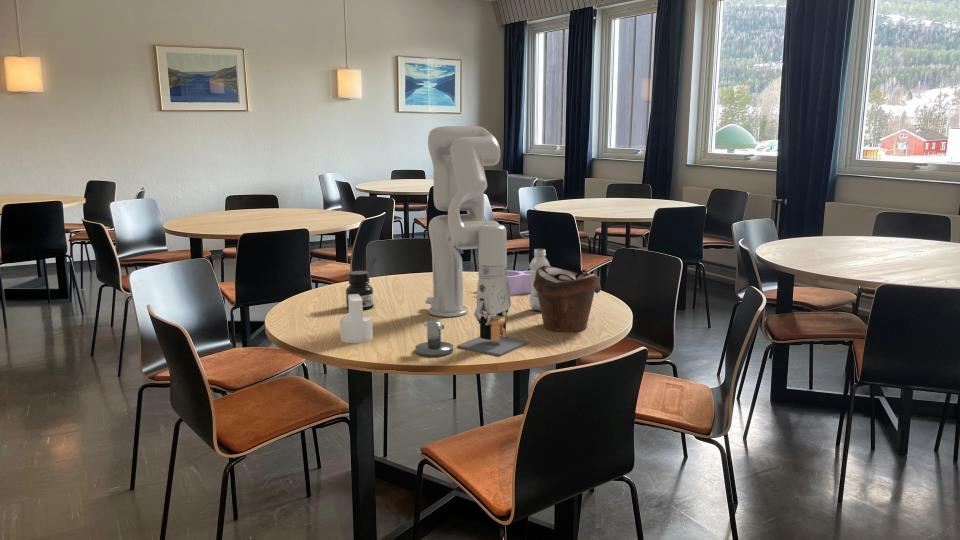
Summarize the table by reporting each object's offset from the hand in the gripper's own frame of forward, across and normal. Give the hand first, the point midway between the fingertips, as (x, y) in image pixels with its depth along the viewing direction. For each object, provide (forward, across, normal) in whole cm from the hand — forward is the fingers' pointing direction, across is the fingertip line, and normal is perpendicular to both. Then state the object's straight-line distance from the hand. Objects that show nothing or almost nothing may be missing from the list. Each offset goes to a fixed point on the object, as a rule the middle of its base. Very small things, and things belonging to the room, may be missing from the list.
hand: (493, 335), depth 192 cm
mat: (+3, 0, 0) cm, 3 cm away
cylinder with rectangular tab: (+3, -16, +36) cm, 40 cm away
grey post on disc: (+3, -13, +10) cm, 17 cm away
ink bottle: (+3, +11, +62) cm, 63 cm away
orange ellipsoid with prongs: (0, 0, 0) cm, 0 cm away
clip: (+3, +60, +33) cm, 69 cm away
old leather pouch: (+3, +28, -7) cm, 29 cm away
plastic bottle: (+3, +41, +10) cm, 42 cm away
